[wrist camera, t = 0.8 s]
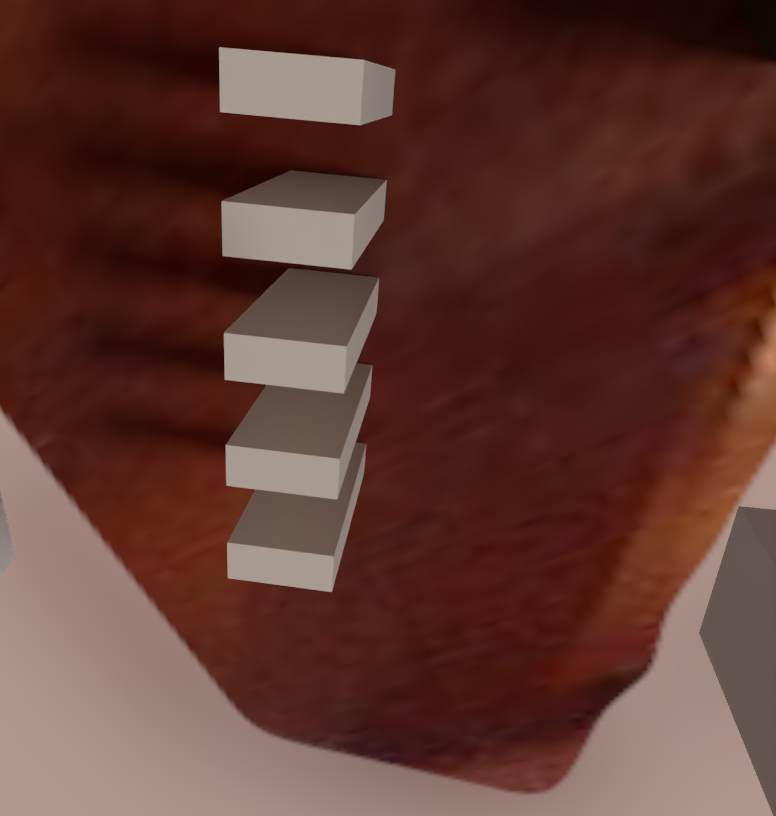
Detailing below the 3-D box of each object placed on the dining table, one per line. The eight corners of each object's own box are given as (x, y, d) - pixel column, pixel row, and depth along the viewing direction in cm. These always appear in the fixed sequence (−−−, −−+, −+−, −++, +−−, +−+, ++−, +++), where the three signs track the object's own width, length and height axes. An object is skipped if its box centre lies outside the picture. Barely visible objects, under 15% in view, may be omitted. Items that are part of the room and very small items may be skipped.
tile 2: (293, 60, 30) (218, 46, 21) (395, 69, 30) (364, 59, 21) (292, 106, 31) (219, 111, 22) (391, 115, 31) (360, 125, 22)
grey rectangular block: (285, 433, 38) (227, 542, 29) (366, 443, 37) (333, 556, 28) (284, 463, 38) (227, 578, 29) (363, 472, 38) (331, 592, 29)
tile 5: (286, 355, 36) (225, 444, 27) (372, 365, 35) (339, 458, 26) (286, 387, 36) (226, 485, 27) (369, 397, 36) (337, 499, 27)
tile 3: (291, 170, 32) (221, 201, 23) (386, 179, 32) (354, 214, 23) (290, 210, 33) (222, 255, 24) (383, 220, 32) (351, 269, 23)
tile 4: (288, 267, 34) (223, 332, 25) (379, 277, 34) (346, 346, 25) (288, 304, 35) (224, 379, 26) (376, 313, 34) (343, 393, 25)
